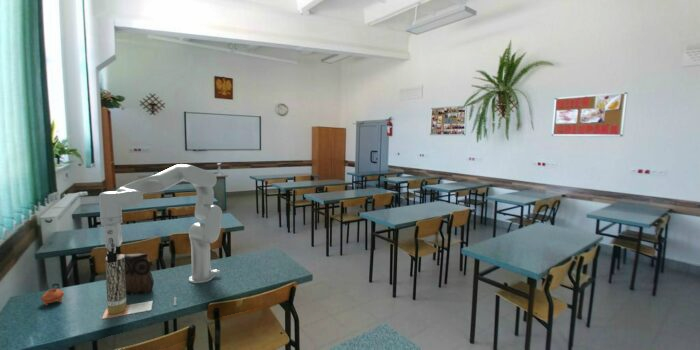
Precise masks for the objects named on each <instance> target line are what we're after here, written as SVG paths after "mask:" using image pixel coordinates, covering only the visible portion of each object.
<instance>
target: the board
mask: <svg viewBox="0 0 700 350" xmlns="http://www.w3.org/2000/svg"><path fill="white" fill-rule="evenodd" d="M153 302H154V301H153V300H148V301H143V302H138V303H131V304H126V309H125V310H124V311H123V312H121V313H118V314H109V313H108V308H106V309H105V310H104V313H103V316H102V318H101V320H106V319H111V318H116V317H122V316H127V315H133V314H138V313H143V312H149V311H152V307H153ZM176 306H177V296H174V297H173V307H176Z"/></svg>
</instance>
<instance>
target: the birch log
mask: <svg viewBox="0 0 700 350" xmlns="http://www.w3.org/2000/svg"><path fill="white" fill-rule="evenodd" d="M123 254H124V253H121V254H117V262H112V263H108V261H107V256H106V257H105V279H106V303H107V306H106V307H107V309H108V313H109V314H118V313H121V312H123V311H124V310H125V309H126V305H127V294H126V283H125V256H124V255H125V254H124V255H123Z"/></svg>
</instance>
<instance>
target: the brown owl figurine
mask: <svg viewBox="0 0 700 350" xmlns="http://www.w3.org/2000/svg"><path fill="white" fill-rule="evenodd" d="M122 254H123V255H124V256H125V283H126V296H127V295H129V296H131V295H133V296H134V295H144V294H148V293H151V292H153V291H154V290H153V287H154V283H155V280H154V277H153V274H152V272H151V271H152V269H151V266H152V265H151V262H150V259H149V257H148V254H147V253H130V254H129V253H128V254H124V253H122Z"/></svg>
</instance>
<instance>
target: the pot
mask: <svg viewBox="0 0 700 350" xmlns="http://www.w3.org/2000/svg"><path fill="white" fill-rule="evenodd" d="M64 296H65V292H64V291H63V290H60V289H58V288H52V289H49V290H46V292H45V293H44V294H43V295H41V297H40V300H41V301H42V302H43V303H44V305H45V306H48V305H49V303H51V304H52V303H55V302H59V303H61V302H62V299H63V297H64Z"/></svg>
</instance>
